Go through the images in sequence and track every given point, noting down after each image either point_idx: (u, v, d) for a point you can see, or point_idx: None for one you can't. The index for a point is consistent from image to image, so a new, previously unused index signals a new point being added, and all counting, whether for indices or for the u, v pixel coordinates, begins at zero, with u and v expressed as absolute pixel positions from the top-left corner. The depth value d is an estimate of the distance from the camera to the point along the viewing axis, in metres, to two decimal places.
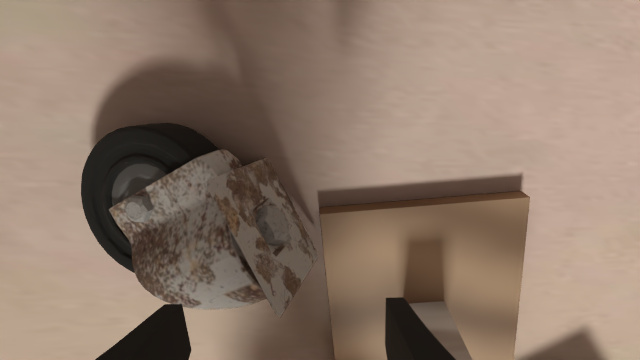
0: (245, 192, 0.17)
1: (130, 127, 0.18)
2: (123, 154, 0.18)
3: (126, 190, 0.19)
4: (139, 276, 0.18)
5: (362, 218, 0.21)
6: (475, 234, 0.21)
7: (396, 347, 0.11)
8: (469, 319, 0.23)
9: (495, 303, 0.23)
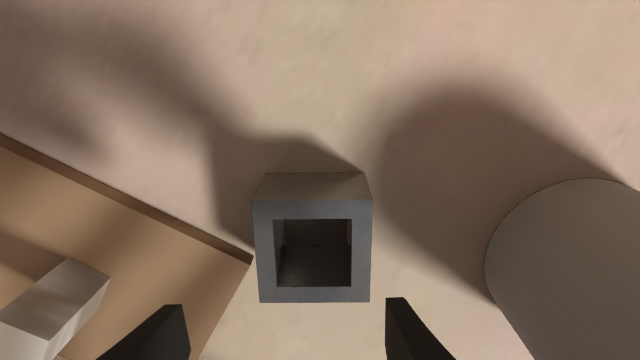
0: None
1: None
2: None
3: None
4: None
5: None
6: None
7: (396, 347, 0.11)
8: (102, 247, 0.20)
9: (92, 216, 0.20)
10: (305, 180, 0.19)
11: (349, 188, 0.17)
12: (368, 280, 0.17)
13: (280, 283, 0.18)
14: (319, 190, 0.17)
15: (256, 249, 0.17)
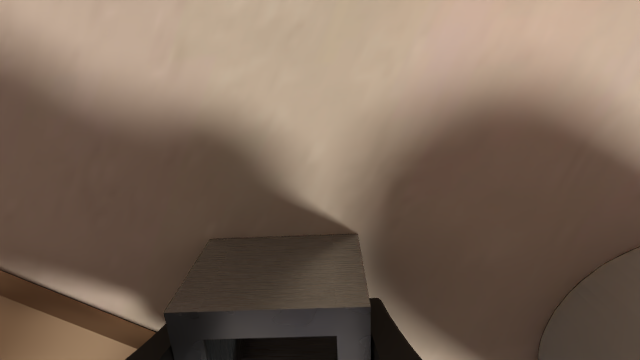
0: None
1: None
2: None
3: None
4: None
5: None
6: None
7: None
8: None
9: None
10: (266, 253, 0.12)
11: (333, 274, 0.11)
12: None
13: None
14: (283, 279, 0.11)
15: None
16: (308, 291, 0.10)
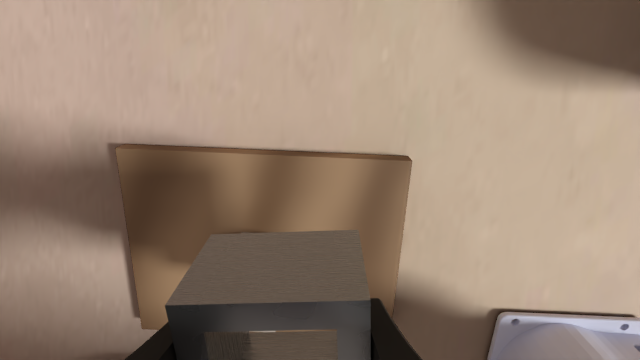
0: None
1: None
2: None
3: None
4: None
5: (144, 297, 0.23)
6: (159, 200, 0.20)
7: None
8: (268, 207, 0.20)
9: (248, 180, 0.20)
10: (267, 248, 0.12)
11: (333, 269, 0.11)
12: None
13: None
14: (284, 274, 0.11)
15: None
16: (308, 285, 0.10)
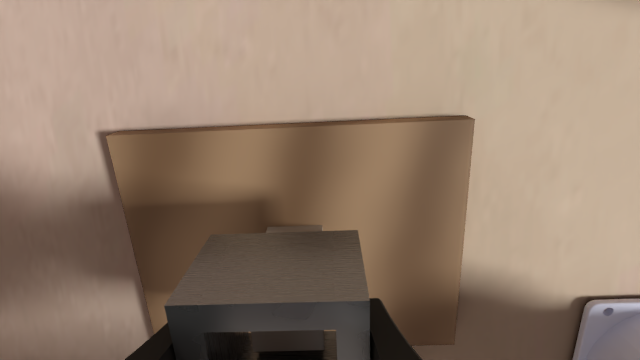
0: None
1: None
2: None
3: None
4: None
5: (158, 314, 0.19)
6: (165, 196, 0.17)
7: None
8: (297, 193, 0.17)
9: (270, 161, 0.16)
10: (267, 248, 0.12)
11: (332, 269, 0.11)
12: None
13: None
14: (283, 274, 0.11)
15: None
16: (308, 285, 0.10)
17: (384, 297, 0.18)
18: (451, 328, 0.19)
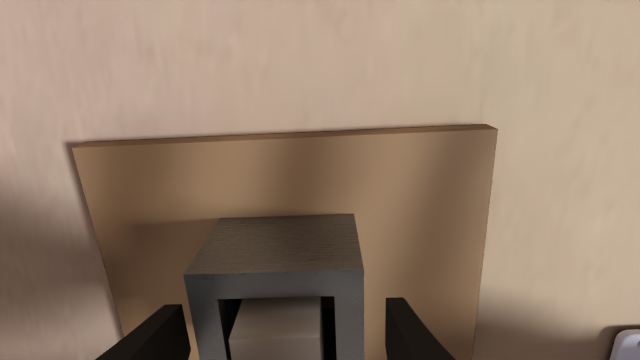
0: None
1: None
2: None
3: None
4: None
5: None
6: (142, 216, 0.15)
7: (396, 347, 0.11)
8: (293, 213, 0.14)
9: (262, 177, 0.14)
10: (272, 229, 0.13)
11: (331, 245, 0.12)
12: None
13: None
14: (287, 249, 0.12)
15: (197, 339, 0.12)
16: (309, 258, 0.11)
17: None
18: None
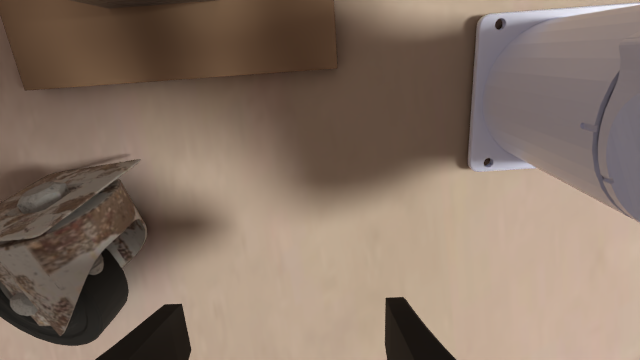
0: None
1: None
2: None
3: None
4: (58, 333, 0.18)
5: (17, 38, 0.18)
6: None
7: (396, 347, 0.11)
8: None
9: None
10: None
11: None
12: None
13: None
14: None
15: None
16: None
17: (254, 5, 0.17)
18: (331, 45, 0.18)
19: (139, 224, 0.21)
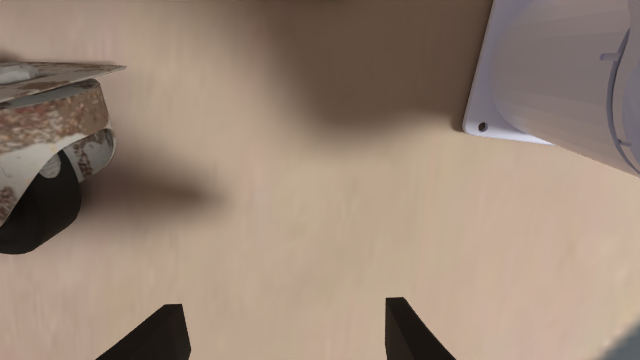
0: None
1: None
2: None
3: None
4: None
5: None
6: None
7: (396, 347, 0.11)
8: None
9: None
10: None
11: None
12: None
13: None
14: None
15: None
16: None
17: None
18: None
19: (108, 139, 0.19)
